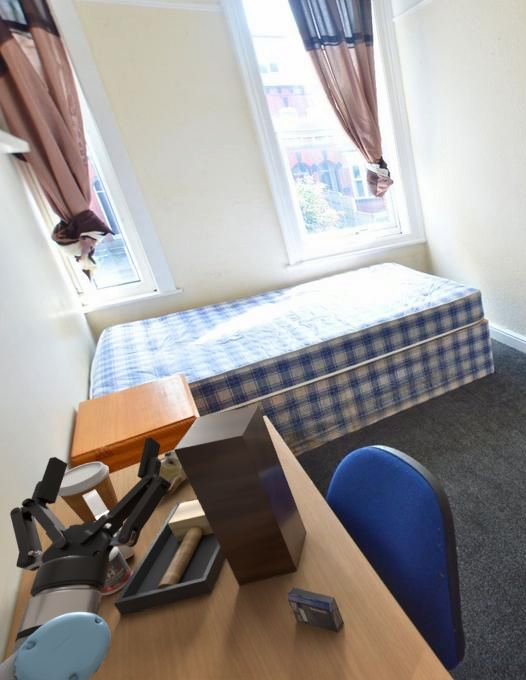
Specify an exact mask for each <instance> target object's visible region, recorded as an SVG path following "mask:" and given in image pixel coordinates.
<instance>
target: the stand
mask: <svg viewBox="0 0 526 680" xmlns="http://www.w3.org/2000/svg"><path fill="white" fill-rule="evenodd" d="M173 451H175V453H176V455H177V457H178V460H179V462H180V464H181V466H182V468H183V470H184V472H185V474H186V476H187V478H186V479H187V480H188V482H189V484H190V486H191V490H193V493H194V495H195V498H197V499H198V501H199V503H200V505H201V507H202V509H203V512H204V514H205V516H206V518H207V520H208V522H209V524H210V526H211V528H212V530H213V532H214V534H215V536H216V539H217V541H218V543H219V545H220V547H221V549H222V551H223V553H224V555H225V557H226V559H225V560H226V561H227V563H228V565H229V568H230V570H231V572H232V574H233V576H234V578H235V580H236V582H237V584H238V586H239V587H240V586H245V585H248V584H252V583H257V582H261V581H264V580H267V579H272V578H275V577H280V576H283V575H287V574H291V573H294V572H298V568H299V564H300V560H301V556H302V551H303V547H304V543H305V539H306V534H307V530H306V527H305V524H304V521H303V518H302V517H301V513H300V510H299V508H298V506H297V503H296V501H295V498H294V494H293V493H292V490H291V489H292V488H291V487H290V484H289V481H288V479H287V476H286V474H285V471H284V469H283V466H282V463H281V460H280V458H279V455H278V452H277V450H276V447H275V445H274V442H273V439H272V437H271V434H270V432H269V428H268V426H267V423H266V420H265V419H264V415H263V413H262V409H261V408H260V405H259V404H256V405H251V406H247V407H246V406H245V407H241V408H237V409H232V410H227V411H222V412H217V413H212V414H207V415H202V416H197V418H196V419H195V421H194V422H193V424H192V425H191V426H190V428H189V429H188V430H187V432H186V433H185V434H184V436H183V437H182V438H181V439H180V440H179V442H178V444H176V446H175V448H174V449H173Z"/></svg>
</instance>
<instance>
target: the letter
mask: <svg viewBox="0 0 526 680" xmlns="http://www.w3.org/2000/svg"><path fill="white" fill-rule="evenodd" d="M82 496H83V498H84V500H85V501H86V503H87V505H88V506H89V508H90V510H91V511H92V513H93V515H94V516H95V518H96V520H98V519H99V518H100V517H101V516H102V515H104V514H107V513H108V512H109V511H108V509H107V508H106V506H105V504H104V503H103V501H102V499H101V498H100V496H99V495H98V493H97V491H96V490H93V491H91V492H89V493H87V494H84V495H82ZM106 526H107V528H109V527H110V526H111V524H109V523H107V524H106ZM121 529H122V528H120V529H119V530H121ZM119 530H118V531H119ZM116 535H117V532H116V533H115V534H114V537H115V536H116ZM117 548H118V549H119V551H120V552H121V554H122V556H123V558H124V559H125V560H127V559H129V558H131V557H133V556H134V555H135V551H134V550H133V547H128V546H117Z"/></svg>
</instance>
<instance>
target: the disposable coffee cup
mask: <svg viewBox="0 0 526 680" xmlns="http://www.w3.org/2000/svg"><path fill="white" fill-rule="evenodd" d="M93 490H96V491H97V493H98V495H99V496H100V498H101V499H102V501H103V503H104V504H105V506H106V508H107V509H108V511H110V510H111V509H112V508H113V507H114V506H115V505H116V504H117V503H118V502H119V500H118V496H117V494H116V490H115V488H114V485H113V482H112V479H111V476H110V468H109V466H108V465H106V464H104V463H103V462H102V461H91V462H87V463H83V464H80V465H78V466H75V467H73V468H71V469H69V470H67V471H65V474H64V477H63V480H62V483H61V486H60V489H59V492H58V495H57V496H59V497H60V498H61V500H63V501H64V503H65V504H67V506H68V507H69V508H70V509H71V510H72V511H73V512H74V513H75V514H76V515H77V516H78V518H79V519H81V521H82V522H83V524H84V523H86V522H89V521H93V520H94V521H97V520H96V518H95V516H94V515H93V513H92V511H91V510H90V508H89V506H88V505H87V503H86V501H85V500H84V498H83V496H82V495H84V494H87V493H89V492H91V491H93Z"/></svg>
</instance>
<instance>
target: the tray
mask: <svg viewBox="0 0 526 680" xmlns="http://www.w3.org/2000/svg"><path fill="white" fill-rule="evenodd" d="M193 500H197V497H195V498H193V499H187V500H184V501H179V502H176V503H175V505H174V506H173V508H172V510H171V511H170V513H169V515H168V516H167V518H166V519H165V521H164V522H163V524H162V526H161V527H160V528H159V530H158V532H157V533H156V535H155V537H154V538H153V539H152V542H151V543H150V544H149V546H148V548H147V550H146V551H145V553H144V554H143V556H142V558H141V559H140V561H139V562H138V564H137V565H136V567H135V569H134V570H133V571H132V575H131V577H130V578H129V580H128V582H127V583H126V585H125V586H124V587H123V588H122V589H121V591H120V593H119V594H118V596H117V597H116V599H115V601H114V602H113V605H114V607H115V608H116V610H117V611H118V612H119V615H120V616H121V617H123V616H127V615H130V614H135V613H138V612H142V611H146V610H150V609H154V608H158V607H161V606H165V605H169V604H173V603H177V602H180V601H184V600H188V599H192V598H195V597H200V596H203V595H208V594H211V593H213V590H214V588H215V585H216V583H217V581H218V578H219V575H220V573H221V571H222V569H223V566H224V563H225V561H226V560H227V559H226V557H225V555H224V553H223V551H222V549H221V547H220V545H219V543H218V541H217V539H216V536H215V534H214V533H213V534H208V535H204V536H202V537H201V539H200V541H199V543H198V545H197V547H196V549H195V551H194V553H193V555H192V557H191V559H190V561H189V563H188V565H187V567H186V569H185V571H184V573H183V575H182V577H181V579H180V581H179V583H178V584H177V585H173V586H169V587H165V588H161V589H157V587H158V585H159V583H160V581H161V579H162V578H163V576H164V574H165V572H166V570H167V569H168V567H169V565H170V563H171V561H172V559H173V558H174V556H175V554H176V552H177V550H178V549H179V547H180V545H181V543H182V541H179V542H177V540H176V538H175V536H174V534H173V532H172V530H171V528H170V527H169V525H168V523H169V521H170V519H171V518H172V516H173V514H174V513H175V511H176V510H177V508H178V506H179V505H180V503H184V502H189V501H193Z"/></svg>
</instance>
